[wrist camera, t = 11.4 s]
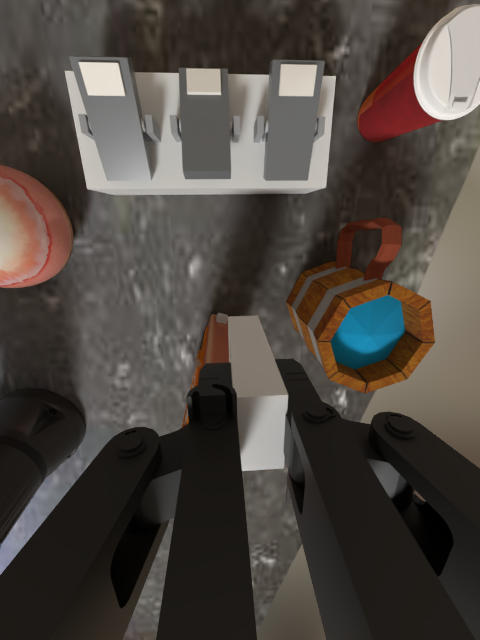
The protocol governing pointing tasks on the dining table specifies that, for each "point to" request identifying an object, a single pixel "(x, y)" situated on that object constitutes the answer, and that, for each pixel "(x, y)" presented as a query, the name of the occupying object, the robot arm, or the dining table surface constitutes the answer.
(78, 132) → the console
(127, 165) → the rocker
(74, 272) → the dining table surface
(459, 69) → the paper cup
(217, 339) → the control panel
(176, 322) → the dining table surface
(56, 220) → the vase
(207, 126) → the rocker
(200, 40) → the dining table surface
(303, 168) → the rocker
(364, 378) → the mug
